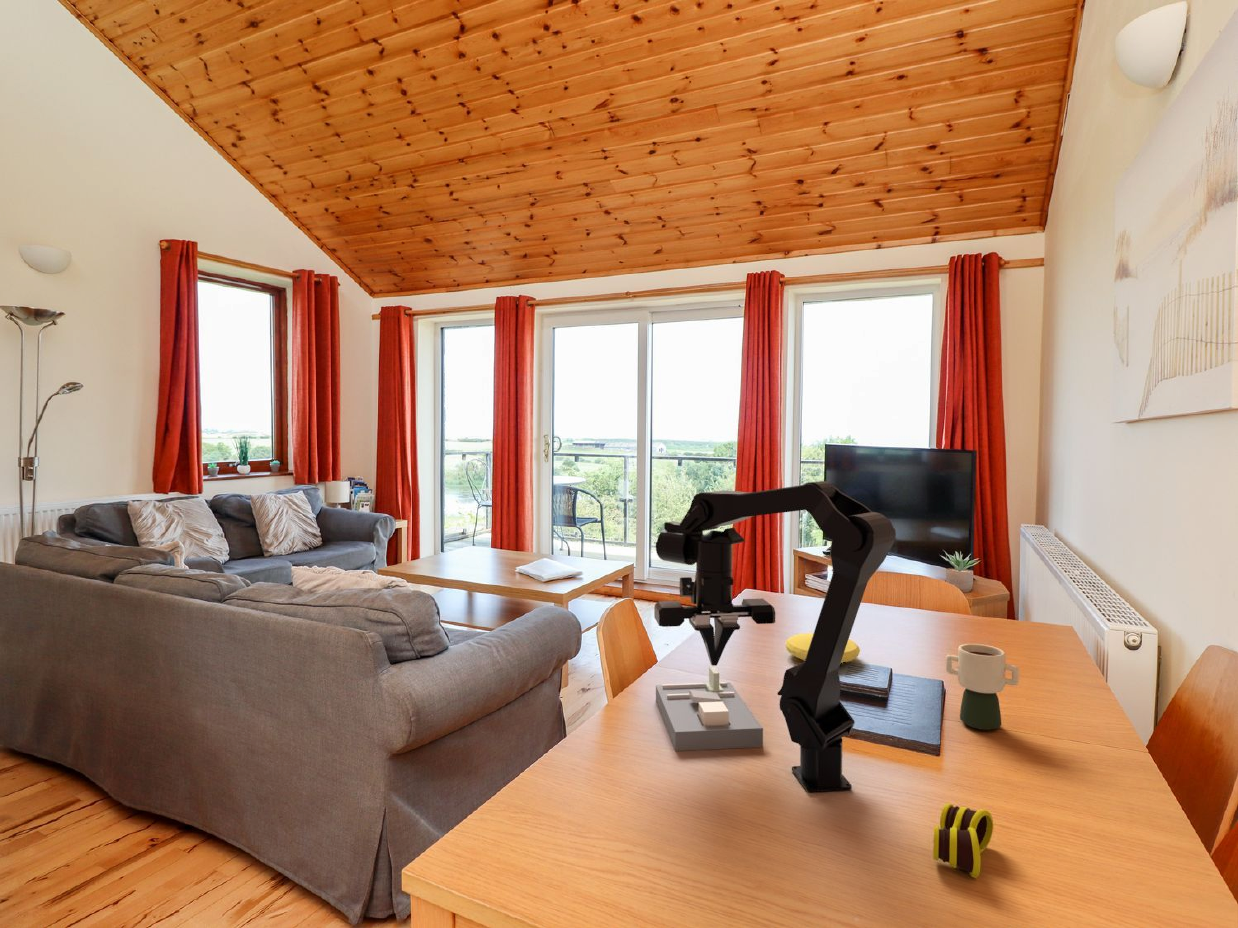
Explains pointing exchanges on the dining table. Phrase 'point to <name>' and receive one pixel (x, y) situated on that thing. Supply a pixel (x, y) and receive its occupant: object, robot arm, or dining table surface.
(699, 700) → the pale grey slab
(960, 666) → the character mug
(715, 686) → the slide paddle
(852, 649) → the yellow flattened dome
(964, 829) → the opera glasses
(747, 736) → the console
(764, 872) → the dining table surface
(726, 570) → the robot arm
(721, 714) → the push button
